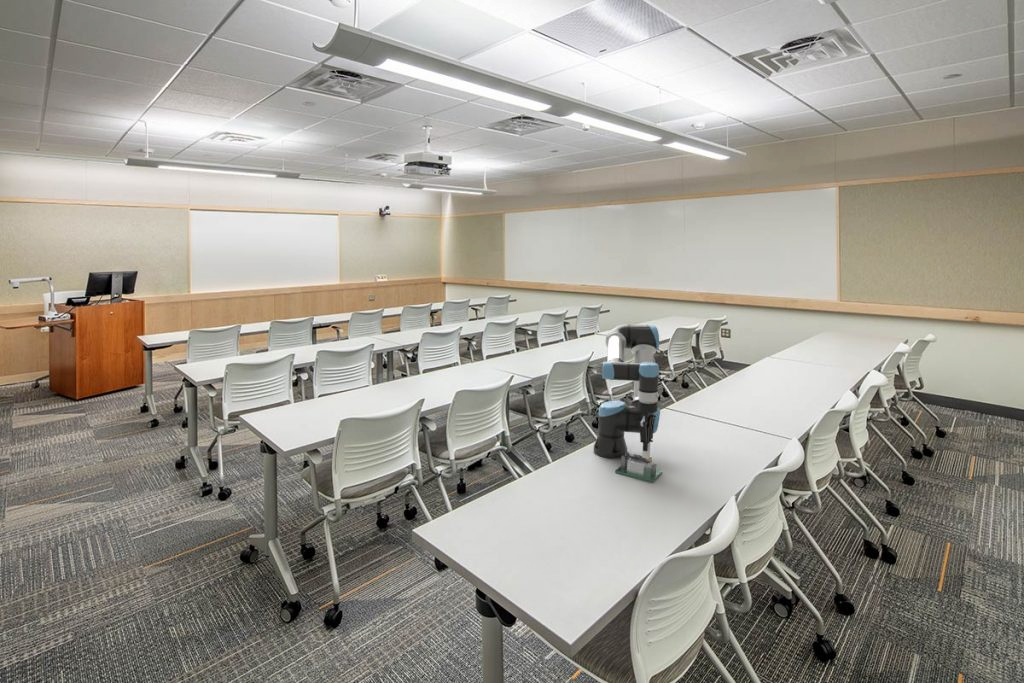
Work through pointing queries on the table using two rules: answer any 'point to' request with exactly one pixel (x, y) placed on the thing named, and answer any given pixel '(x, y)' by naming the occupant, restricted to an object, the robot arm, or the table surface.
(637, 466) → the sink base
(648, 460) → the grey rod
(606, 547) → the table surface
